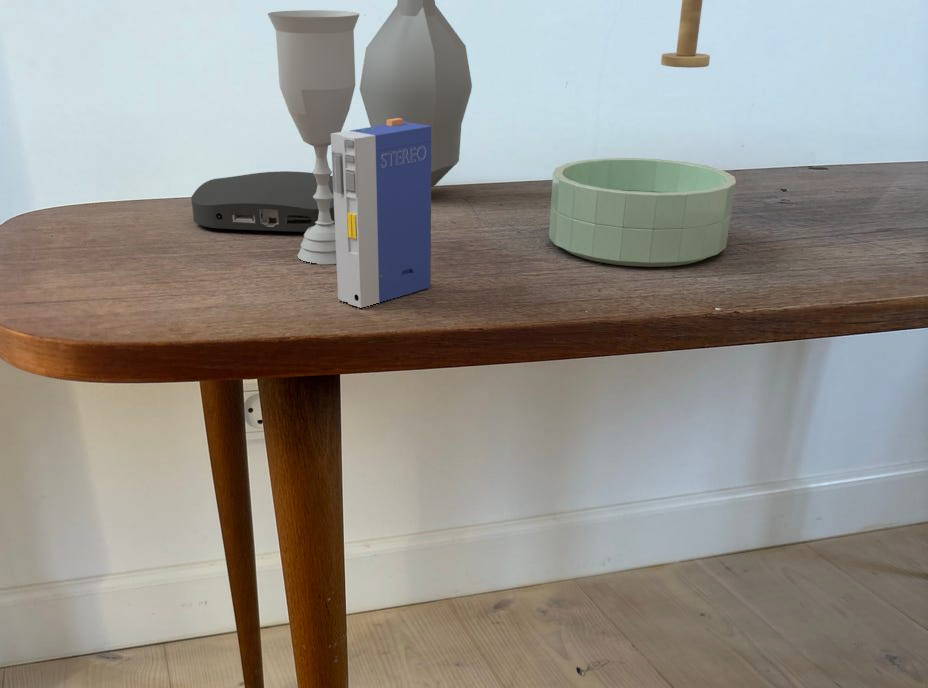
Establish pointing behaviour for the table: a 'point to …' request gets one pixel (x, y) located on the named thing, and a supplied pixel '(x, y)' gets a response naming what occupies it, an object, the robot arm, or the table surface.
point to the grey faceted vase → (419, 78)
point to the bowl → (641, 211)
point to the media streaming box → (260, 202)
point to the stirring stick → (687, 39)
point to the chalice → (317, 99)
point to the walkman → (382, 211)
